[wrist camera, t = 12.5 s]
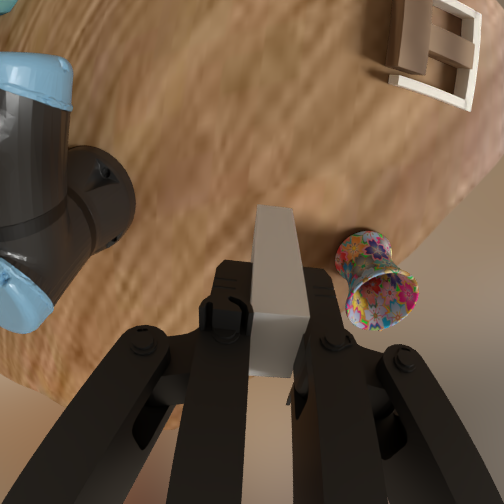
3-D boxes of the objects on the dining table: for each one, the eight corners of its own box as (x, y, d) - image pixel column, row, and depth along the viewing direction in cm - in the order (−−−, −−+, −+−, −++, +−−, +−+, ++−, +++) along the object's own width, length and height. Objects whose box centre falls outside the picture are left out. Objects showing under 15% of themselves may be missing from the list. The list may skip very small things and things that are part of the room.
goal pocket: (388, 83, 30) (397, 84, 27) (399, -16, 22) (408, -22, 20) (458, 108, 30) (470, 111, 28) (469, 15, 23) (481, 14, 20)
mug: (326, 233, 41) (341, 281, 32) (390, 218, 39) (420, 262, 30) (337, 299, 47) (350, 350, 38) (393, 285, 45) (415, 333, 36)
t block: (385, 66, 29) (398, 66, 25) (392, -5, 24) (405, -12, 20) (451, 90, 29) (468, 93, 26) (459, 24, 24) (476, 22, 20)
